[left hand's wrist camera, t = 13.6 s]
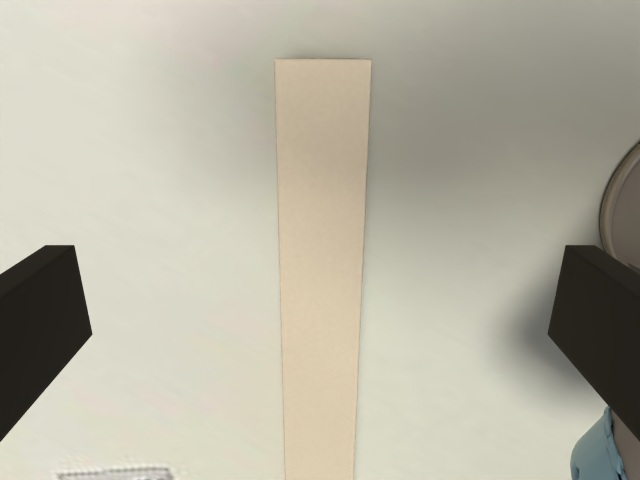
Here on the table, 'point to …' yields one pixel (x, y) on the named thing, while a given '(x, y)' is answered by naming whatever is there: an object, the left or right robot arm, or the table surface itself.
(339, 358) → the bar
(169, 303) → the table surface
